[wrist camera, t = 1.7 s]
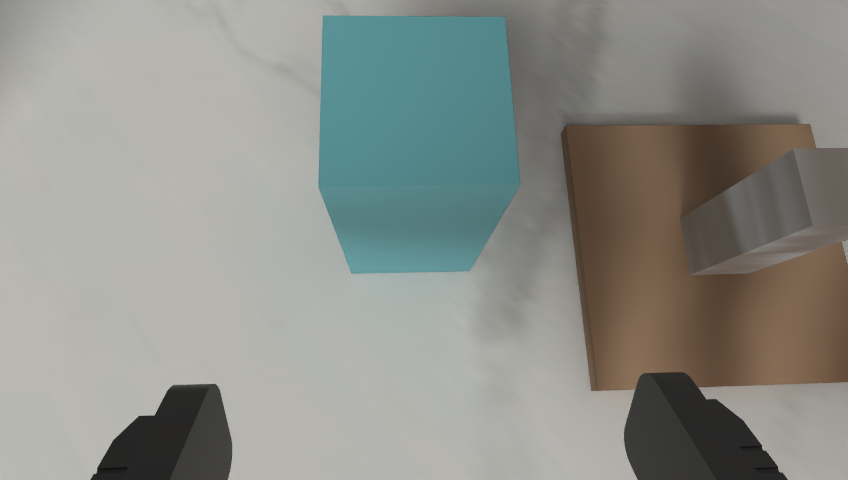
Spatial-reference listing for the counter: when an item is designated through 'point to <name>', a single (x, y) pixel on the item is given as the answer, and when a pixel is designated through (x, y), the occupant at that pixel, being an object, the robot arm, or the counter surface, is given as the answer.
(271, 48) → the counter surface
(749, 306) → the post board
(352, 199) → the teal block
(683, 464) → the robot arm
